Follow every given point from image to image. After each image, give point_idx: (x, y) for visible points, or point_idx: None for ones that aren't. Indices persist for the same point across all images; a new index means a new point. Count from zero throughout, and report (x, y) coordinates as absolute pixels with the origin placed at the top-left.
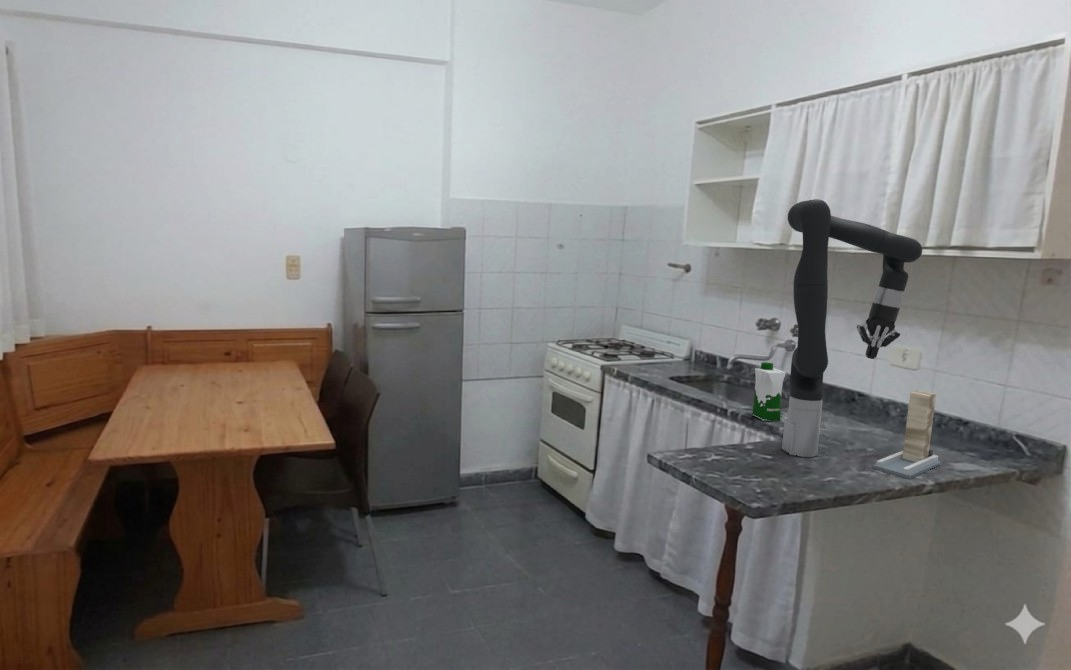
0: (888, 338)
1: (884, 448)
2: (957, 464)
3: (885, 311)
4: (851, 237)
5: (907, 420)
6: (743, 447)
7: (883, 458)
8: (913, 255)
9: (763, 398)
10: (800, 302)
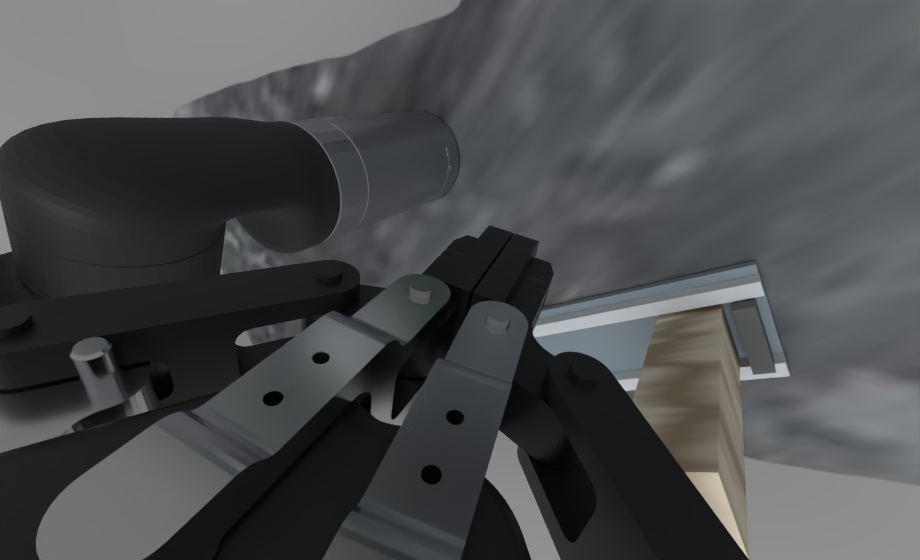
0: (581, 555)
1: (759, 169)
2: (878, 391)
3: None
4: None
5: (638, 386)
6: (309, 89)
7: (555, 323)
8: None
9: None
10: None
